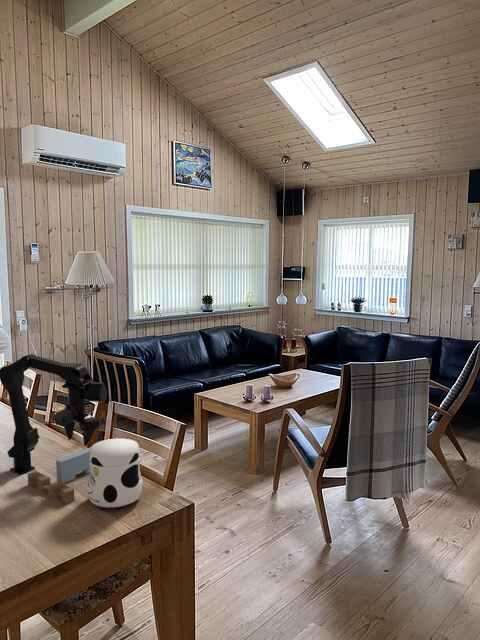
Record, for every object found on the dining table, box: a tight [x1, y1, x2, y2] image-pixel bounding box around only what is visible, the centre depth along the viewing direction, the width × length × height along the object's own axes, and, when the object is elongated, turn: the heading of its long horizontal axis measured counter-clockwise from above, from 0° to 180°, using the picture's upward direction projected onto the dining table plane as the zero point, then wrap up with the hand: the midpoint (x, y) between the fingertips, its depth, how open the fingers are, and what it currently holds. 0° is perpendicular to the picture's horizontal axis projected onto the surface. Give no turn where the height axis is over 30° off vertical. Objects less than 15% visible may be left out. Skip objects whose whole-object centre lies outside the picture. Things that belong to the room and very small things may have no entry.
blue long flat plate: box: [55, 447, 91, 484], centre depth 178 cm, size 3×16×8 cm, turn 144°
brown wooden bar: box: [27, 470, 75, 505], centre depth 165 cm, size 22×3×4 cm, turn 54°
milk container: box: [87, 438, 144, 509], centre depth 160 cm, size 17×17×18 cm
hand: (77, 442), depth 177 cm, fingers open, 9 cm apart
